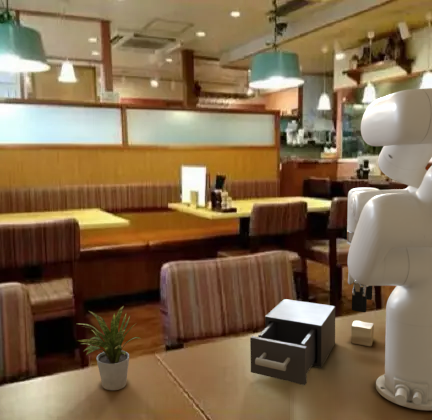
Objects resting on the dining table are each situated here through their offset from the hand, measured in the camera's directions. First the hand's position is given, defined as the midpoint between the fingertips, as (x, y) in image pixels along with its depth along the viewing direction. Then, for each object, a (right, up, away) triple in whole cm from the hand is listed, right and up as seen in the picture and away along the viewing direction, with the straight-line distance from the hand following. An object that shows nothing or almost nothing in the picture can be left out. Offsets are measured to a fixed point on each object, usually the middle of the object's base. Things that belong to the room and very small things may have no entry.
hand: (362, 304), depth 111 cm
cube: (0, -9, +1) cm, 9 cm away
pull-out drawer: (-24, -11, -15) cm, 30 cm away
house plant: (-61, -14, -15) cm, 65 cm away
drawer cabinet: (-16, -10, -3) cm, 20 cm away
